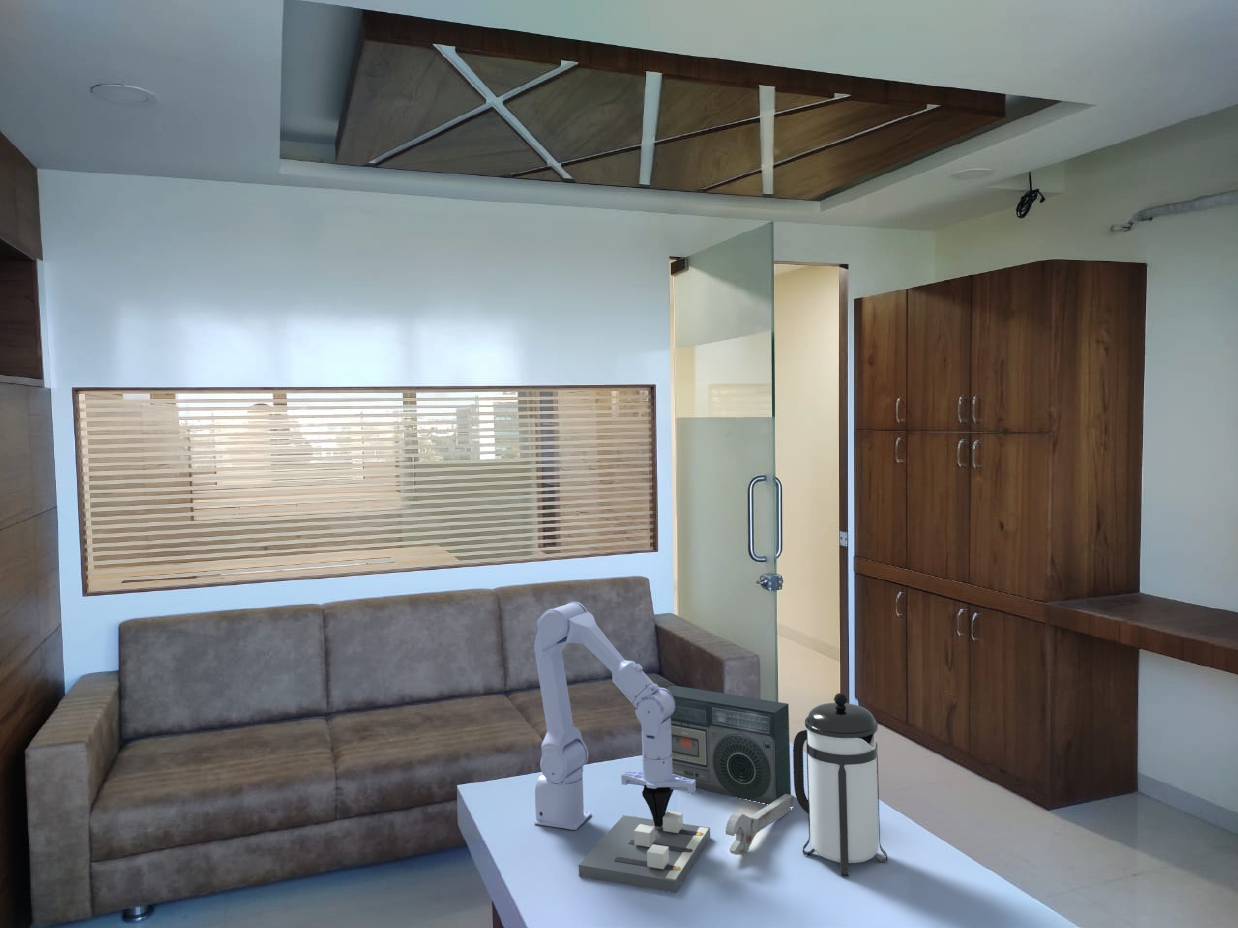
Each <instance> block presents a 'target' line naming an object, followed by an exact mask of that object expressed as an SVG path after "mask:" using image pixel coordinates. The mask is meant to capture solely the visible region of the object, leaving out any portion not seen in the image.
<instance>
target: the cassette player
mask: <svg viewBox="0 0 1238 928" xmlns="http://www.w3.org/2000/svg"><path fill="white" fill-rule="evenodd" d="M665 689H667V690H669V691H670V693H671V695H672V696H673V698H674V700H675V710H674V712H673V713H672V715H671V716H670V717H668V718H671V736H672V770H673V774H675V775H678V776H682V777H685V778H689V779H694V780H695V782H696V790H701V791H705V792H710V793H714V794H718V795H722V796H726V797H730V796H731V797H732V798H735V797H737V798H736V799H739V798H741V799H740V800H743V799H747V800H751V801H756V802H760V803H765V804H768V805H769V804H771V803H772V802H774V801H775V800H777V799H778V798H780V797H781V796H783V795H784V794H789V795H792V789H791V788H792V786H791V784H792V783H791V782H792V780H791V779H792V778H791V752H790V751H791V749H790V748H791V746H790V712H789V710H790V709H789V703H785V702H780V701H773V700H768V699H767V700H766V699H760V698H754V697H750V696H749V697H748V696H741V695H734V694H729V693H724V692H717V691H711V690H705V689H704V690H703V689H697V688H691V687H685V686H678V685H671V686H668V687H665ZM668 718H667V719H668ZM731 797H730V798H731ZM747 800H746V801H747ZM751 801H750V802H751ZM756 802H755V803H756ZM760 803H759V804H760ZM768 805H767V806H768Z"/></svg>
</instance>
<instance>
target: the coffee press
mask: <svg viewBox="0 0 1238 928" xmlns="http://www.w3.org/2000/svg"><path fill="white" fill-rule="evenodd" d="M833 701H834V702H828V703H823V704H819V705H816V706H815V707H813V708H812V709H811V710H810V711H809V713H808V715H807V717H806V718H805V719H804V727H805V728H806V729H803V730H801V731H799V732H797V734H796V735H795V736H794V739H793V748H792V756H793V757H792V758H793V761H792V762H793V787H794V793H795V796H796V798H795V799H796V800H797V803H798V804H799V806H800V807H801V808H802V810H803V811H804V812H805V813H806V814H807V815H808V839H807V841H806V842H805V844H804V845H803V846H802V854H803V855H804V856H805V855H807V856H806V857H810V856H811V855H812V854H814V853H815V852H816V853H817V854H818V855H820V856H821V857H823V858H825V859H827V860H829V861H832V862H836V863H840V876H841V877H850V876H849V875H850V873H849V872H850V869H849V866H850V865H849V864H857V863H863V862H866V861H869V860H871V859H872V858H876V859H877V860H878V861H879V862H880V863H883V864H885V863H887V862H888V854H887V852H886V850H885V849H884V848H883V846H882V845H881V832H880V831H881V829H880V828H881V826H880V823H881V822H880V820H881V819H880V793H879V792H880V789H879V786H880V784H879V755H878V754H879V751H878V749H879V748H878V741H877V732H878V730H879V723H878V722H877V720H876V719H875V717H874V715H873V713H872V712H870V711H869V710H868V709H867V708H865V707H862V706H860V705H858V704H853V703H847V701H848V699H847V696H846V695H845V694H844V693H842V692H838V693H836V694H835V695H834V698H833ZM805 743H806V774H807V776H806V777H807V796H806V792H805V781H804V780H805V779H804V778H805V777H804V775H805V774H804V773H805V772H804V745H805ZM809 843H810V844H811V846H812V849H811V850H810V851H805V849H806V848H807V846H808V845H809ZM879 848H880V851H881V852H882V854H883V855H884V856H885V857H884V858H882V857H880V856H879V855H878V854H877V853H878V851H879Z"/></svg>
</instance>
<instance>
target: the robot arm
mask: <svg viewBox="0 0 1238 928" xmlns="http://www.w3.org/2000/svg"><path fill="white" fill-rule="evenodd" d="M595 620H596V619H595V616H594V615H593V614H592V613H591V612H590V611H588V609H587V608H586V607H585V606H584V605H583V604H582V603H581V602H578V601H571V602H567V604H565V605H564V604H563V605H561V606H558V607H555V608H549V609H547V610H545V611H544V613H542V615H541V616H540V617H539V618H538V619H537V620H536V626H537V631H536V635H535V638H534V639H535V640H534V643H533V651H534V655H535V656H534V657H535V662H536V667H537V676H538V681H539V682H538V683H539V687H540V694H541V700H542V708H543V713H544V719H545V721H544V722H545V726H546V734H545V736H544V738H543V740H542V743H541V746H540V748H541V757H540V760H539V761H540V763H539V767H540V771H541V773H542V774H541V775H539V776H538V779H537V780H536V784H535V789H534V799H535V800H534V804H535V806H534V807H535V820H534V822H533V823H534V824H535V825H539V826H546V827H551V828H552V827H553V828H559V829H567V830H573V831H576V830H578V829H579V828H580V827H581V825H583V824H584V823H585V821H587V819H589V818H590V816H592V812H591V811H588V810H587V811H586V810H585V809H584V807H585V805H584V804H585V803H584V779H583V777H584V776H583V773H584V766H585V765H586V764H587V762H588V761H589V749H588V747H587V745H586V744H585V742H584V740H583V737H582V732H581V731H580V730H579V729H577V728H576V726H574V722H573V715H572V707H571V701H570V695H569V690H568V684H567V678H566V670H565V663H564V657H563V652H562V651H563V649H564V648H565V646H567V644H578V645H584V646H585V647H586V648H587V649H588V650H589V652H590V653H592V654H593V655H594V656H595V657H596V658H597V659H598V660H599V661H600V662H601V663H603V665H604V666H605V667H606V668H607V669H608V670H609V671H610V672H611V674H612V675H611V677H612V683H613V684H614V685H615V686H616V688H618V690H620V691H621V693H622V695H624V697H626V699H628V701H629V702H630V703H631V704H632V705H633V706H634V708H636V709H635V711H634V713H635V715H636V718H637V720H638V722H639V724H640V725H641V744H642V746H641V748H642V749H641V751H642V755H641V756H642V771H624V772H623V773H621V775H620V776H621V777H620V778H621V785H623V786H627V785H634V786H641V787H642V786H643V790H642V791H641V796H642V798H643V799H644V800H645V802H646V804H647V807H648V808H649V810H650V811H649V812H650V814H651V817H652V819H653V821H654V825H655V826H657V827H661V826H662V825H663V817H664V815H665V814H666V813H667V810H668V809H667V808H668V805H669V802H670V799H671V797H672V795H673V792H674V790H675V791H682V792H683V791H684V792H687V793H688V794H694V792H695V791H696V790H697V788H696V782H695V780H694V779H689V778H685V777H682V776H678V775H675V774H673V770H672V736H671V718H668V717H670V716H671V715H672V713H673V712H674V710H675V700H674V698H673V696H672V695H671V693H670V691H669V690H667V689H666V687H665V688H664V687H660V686H659V685H658V683H654V682H653V680H652V679H651V678H650V677H649V676H648V675H647V674H646V673H645V672H644V671H643V668H644V667H643V666H642V665H641V664H640V663H637V662H635V661H633V660H625V658H624V657H623V656H622V655H621V653H620V652H619V651H618V650H617V649H616V647H615V646H614V645H613V644H612V642H611V641H610V639H609V638H607V636H606V635H605V633H604V632H603V631H602V630H601V628H600V627H599V626H598V625H597V623H596V621H595ZM667 718H668V719H667Z"/></svg>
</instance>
